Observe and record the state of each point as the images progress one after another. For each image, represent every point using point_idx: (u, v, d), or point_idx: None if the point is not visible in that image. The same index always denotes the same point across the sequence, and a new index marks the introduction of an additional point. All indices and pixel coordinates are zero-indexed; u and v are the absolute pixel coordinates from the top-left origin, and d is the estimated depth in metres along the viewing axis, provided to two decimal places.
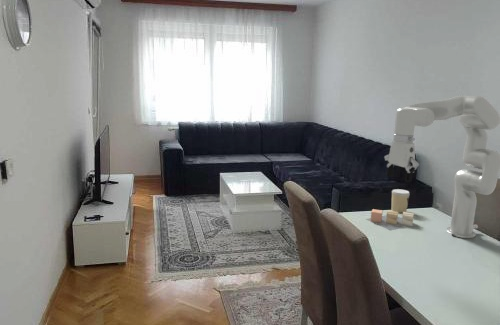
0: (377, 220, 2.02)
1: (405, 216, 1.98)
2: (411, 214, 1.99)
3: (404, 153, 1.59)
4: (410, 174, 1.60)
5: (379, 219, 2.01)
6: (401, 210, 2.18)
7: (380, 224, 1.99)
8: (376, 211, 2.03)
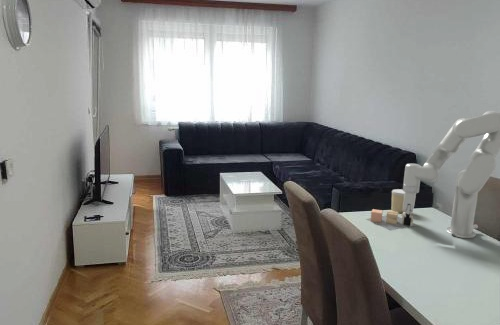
0: (377, 220, 2.02)
1: None
2: (411, 214, 1.99)
3: None
4: None
5: (379, 219, 2.01)
6: (401, 210, 2.18)
7: (380, 224, 1.99)
8: (376, 211, 2.03)
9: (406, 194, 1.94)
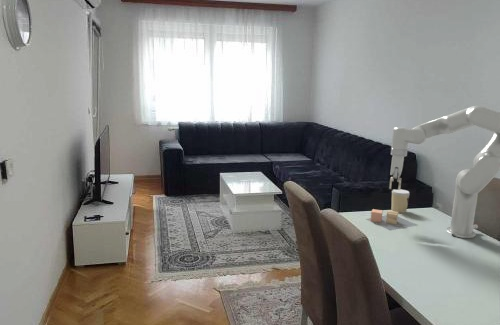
0: (377, 220, 2.02)
1: None
2: (399, 178, 1.98)
3: None
4: None
5: (379, 219, 2.01)
6: (401, 210, 2.18)
7: (380, 224, 1.99)
8: (376, 211, 2.03)
9: (394, 157, 1.92)
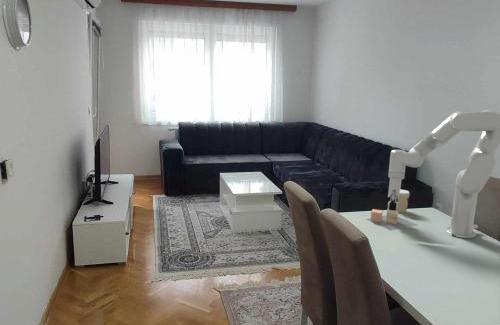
0: (377, 220, 2.02)
1: None
2: (396, 203, 2.00)
3: None
4: None
5: (379, 219, 2.01)
6: (401, 210, 2.18)
7: (380, 224, 1.99)
8: (376, 211, 2.03)
9: (391, 180, 1.95)
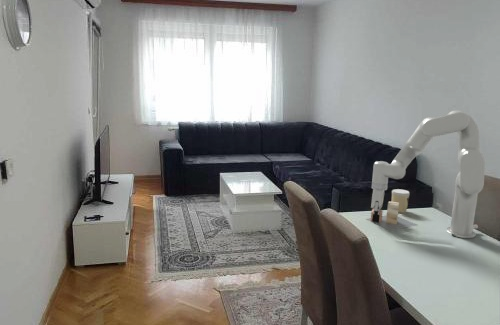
0: None
1: (390, 205, 1.99)
2: (396, 203, 2.00)
3: None
4: None
5: (379, 219, 2.01)
6: (401, 210, 2.18)
7: (380, 224, 1.99)
8: None
9: (374, 191, 1.98)
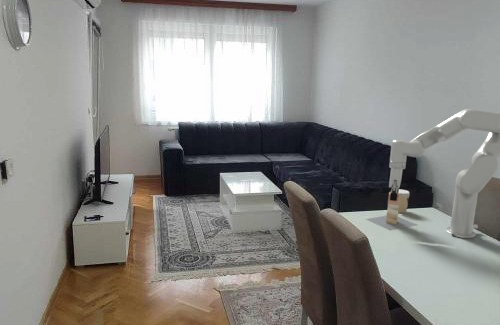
0: (395, 203, 1.98)
1: (390, 205, 1.99)
2: None
3: None
4: None
5: (397, 202, 1.97)
6: (401, 210, 2.18)
7: (380, 224, 1.99)
8: None
9: (392, 170, 1.94)
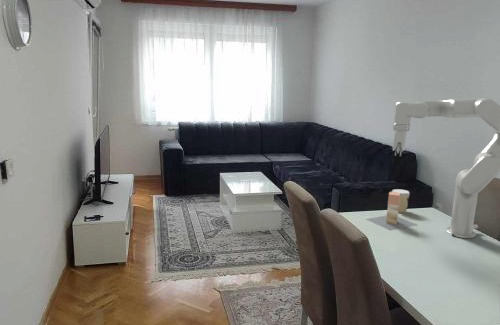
0: (395, 203, 1.98)
1: (390, 205, 1.99)
2: None
3: None
4: None
5: (397, 202, 1.97)
6: (401, 210, 2.18)
7: (380, 224, 1.99)
8: (393, 194, 1.99)
9: (396, 132, 1.90)
